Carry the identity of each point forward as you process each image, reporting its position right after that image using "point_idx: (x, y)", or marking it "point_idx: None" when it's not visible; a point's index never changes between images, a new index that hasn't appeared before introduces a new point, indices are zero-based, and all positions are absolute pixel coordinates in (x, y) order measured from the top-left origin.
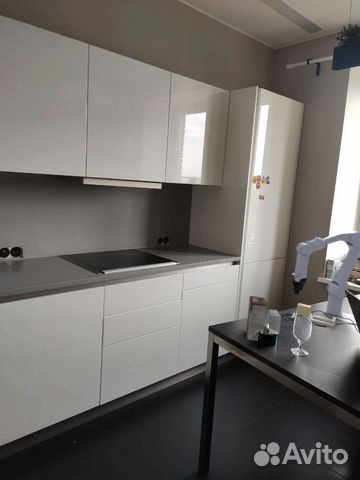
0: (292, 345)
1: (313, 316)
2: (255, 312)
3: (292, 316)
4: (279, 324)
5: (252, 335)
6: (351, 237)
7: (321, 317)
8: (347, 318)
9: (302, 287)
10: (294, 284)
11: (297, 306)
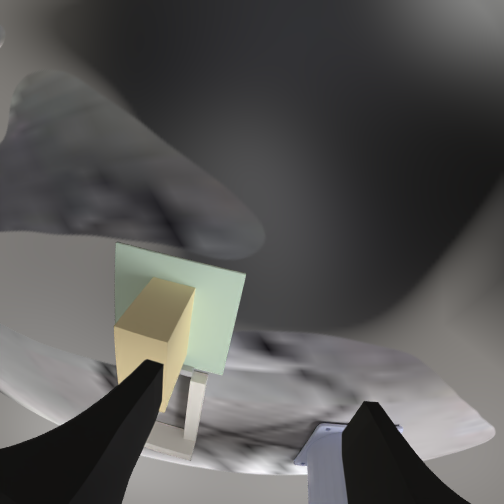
0: None
1: (191, 378)
2: None
3: (133, 254)
4: None
5: None
6: None
7: (193, 409)
8: (285, 471)
9: (347, 473)
10: (35, 456)
11: (121, 319)
